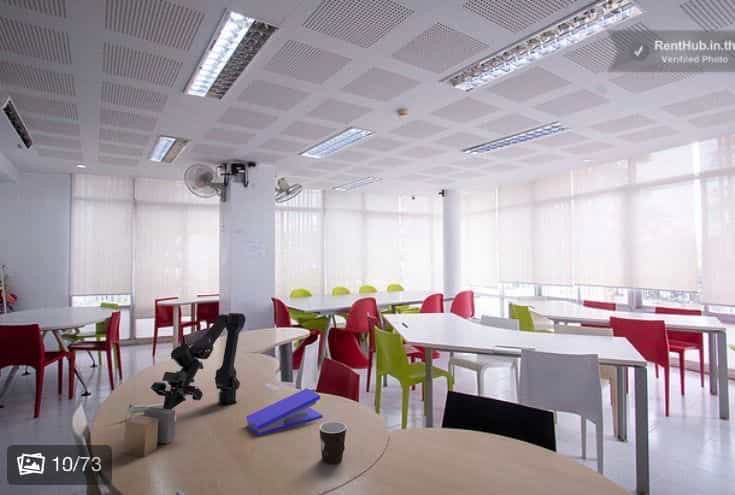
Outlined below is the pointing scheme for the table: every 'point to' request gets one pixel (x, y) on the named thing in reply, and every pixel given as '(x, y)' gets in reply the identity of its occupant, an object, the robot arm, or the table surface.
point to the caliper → (139, 409)
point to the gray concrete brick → (163, 423)
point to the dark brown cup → (332, 441)
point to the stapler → (285, 413)
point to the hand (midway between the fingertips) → (163, 413)
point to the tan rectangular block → (141, 435)
